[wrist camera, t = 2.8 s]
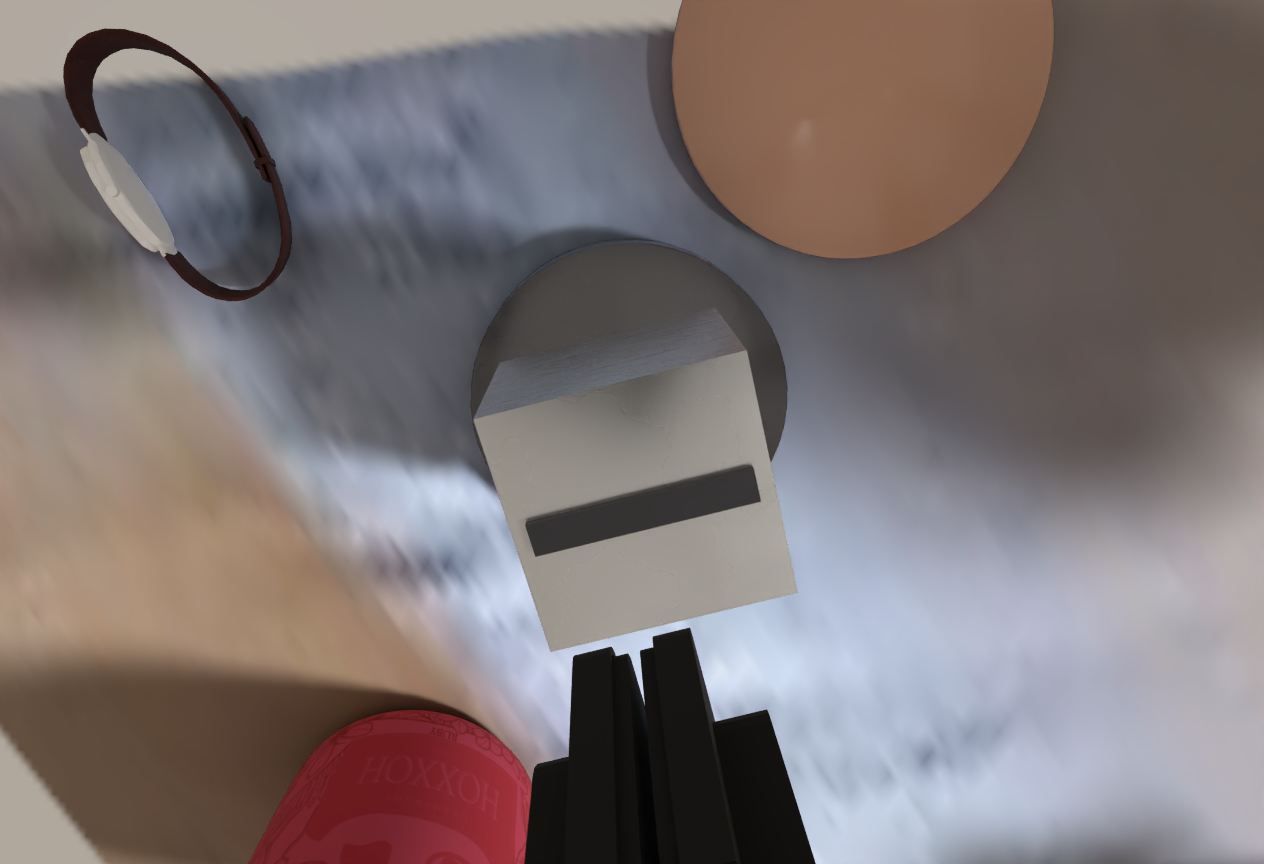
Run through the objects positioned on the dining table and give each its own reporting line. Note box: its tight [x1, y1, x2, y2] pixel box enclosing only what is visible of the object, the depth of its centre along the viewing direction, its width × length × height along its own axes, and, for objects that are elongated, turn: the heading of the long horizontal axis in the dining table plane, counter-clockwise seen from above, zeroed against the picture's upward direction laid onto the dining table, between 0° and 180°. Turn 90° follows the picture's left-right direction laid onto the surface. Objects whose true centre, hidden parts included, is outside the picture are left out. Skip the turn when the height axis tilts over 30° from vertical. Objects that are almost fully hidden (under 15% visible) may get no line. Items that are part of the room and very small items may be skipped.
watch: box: [63, 29, 292, 301], centre depth 23 cm, size 8×5×4 cm, turn 25°
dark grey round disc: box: [471, 239, 787, 469], centre depth 23 cm, size 10×10×8 cm
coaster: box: [671, 0, 1054, 259], centre depth 24 cm, size 11×11×1 cm
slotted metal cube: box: [473, 308, 798, 652], centre depth 21 cm, size 6×6×5 cm
